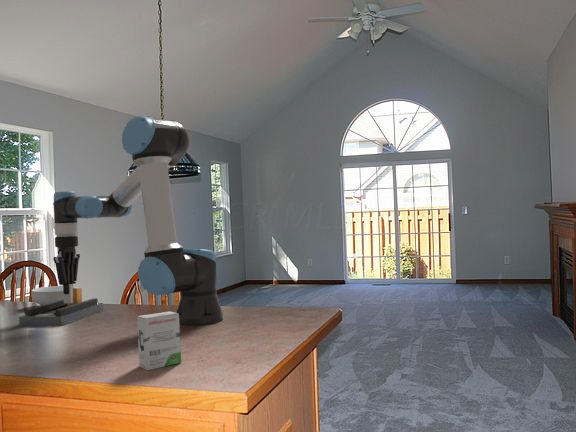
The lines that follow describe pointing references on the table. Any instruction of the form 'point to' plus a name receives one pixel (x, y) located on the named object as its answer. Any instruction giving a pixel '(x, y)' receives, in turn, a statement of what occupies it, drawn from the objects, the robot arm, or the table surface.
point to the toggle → (76, 296)
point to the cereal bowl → (47, 294)
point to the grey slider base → (51, 319)
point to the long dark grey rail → (76, 307)
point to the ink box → (159, 340)
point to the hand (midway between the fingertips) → (68, 302)
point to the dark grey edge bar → (44, 307)
